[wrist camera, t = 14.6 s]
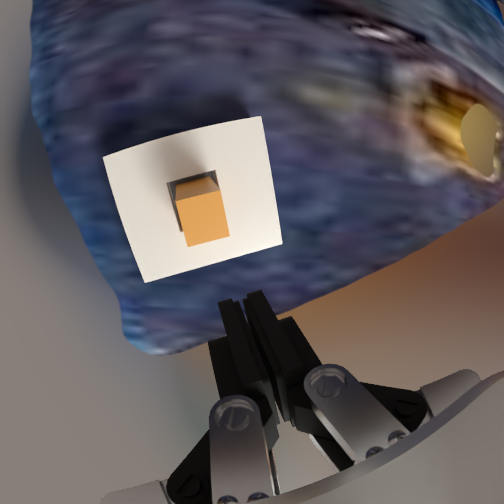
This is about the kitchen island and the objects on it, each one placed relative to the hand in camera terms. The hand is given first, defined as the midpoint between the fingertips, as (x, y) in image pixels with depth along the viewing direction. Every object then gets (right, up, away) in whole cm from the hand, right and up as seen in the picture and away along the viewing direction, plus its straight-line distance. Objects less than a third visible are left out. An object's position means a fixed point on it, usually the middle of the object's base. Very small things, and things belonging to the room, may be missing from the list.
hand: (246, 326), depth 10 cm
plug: (-7, +10, +23) cm, 25 cm away
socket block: (-7, +10, +24) cm, 27 cm away
